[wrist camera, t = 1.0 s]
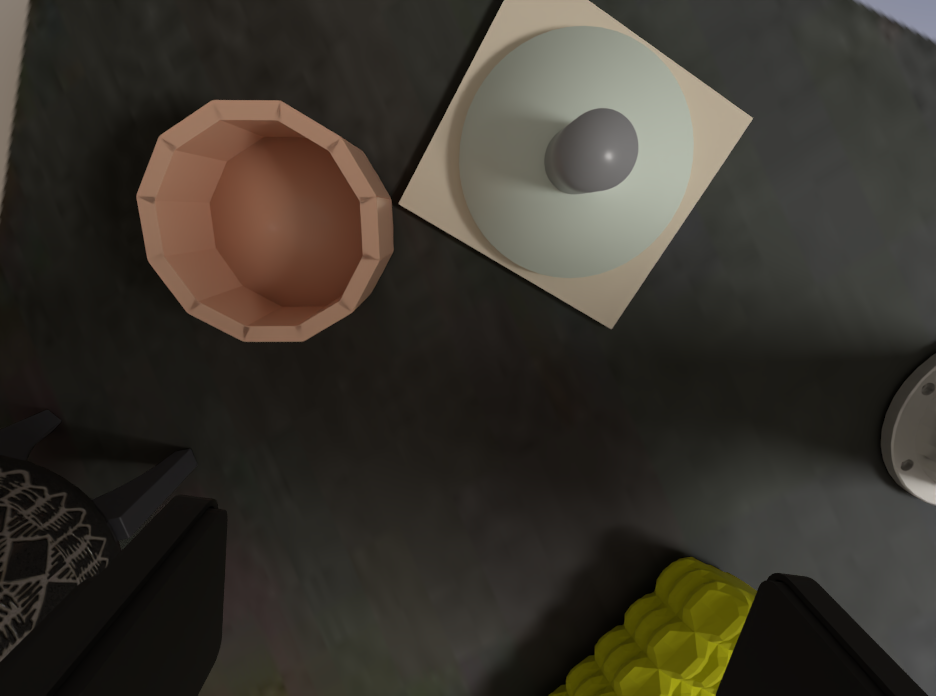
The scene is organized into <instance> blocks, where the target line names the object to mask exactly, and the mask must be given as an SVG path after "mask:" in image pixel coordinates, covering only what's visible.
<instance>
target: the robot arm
mask: <svg viewBox="0 0 936 696" xmlns="http://www.w3.org/2000/svg"><path fill="white" fill-rule="evenodd" d="M881 450H882V456H883V461H884V463H885V466H886V468H887V470H888V472H889V474H890V475H891V477H892V478H893V479H894V480H895V482H896V483H897V484H898V485H899V486H901V487H902V488H903V489H904V490H906V491H907V492H908V493H910V494H912V495H914V496H915V497H917V498H919V499H920V500H922V501H924V502H926V503H929V504H932V505H935V506H936V354H934V355H932V356H931V357H930V358H929V359H928V360H926V361H925V362H924V363H923V364H921V365H920V366H919V367H918V368H917V369H916V370H915V371H914V372H913V373H912V374H911V375H910V376H909V377H908V378H907V379H906V380H905V382H904V383H903V384H902V386H901V387H900V389H899V390H898V392H897V393H896V395H895V396H894V397H893V399H892V402H891V404H890V406H889V408H888V410H887V413H886V415H885V419H884V423H883V427H882V432H881ZM226 538H227V512H226V511H225V510H220V509H218V504H217V501H216V500H214V499H209V498H201V497H194V496H186V495H177V496H175V497H174V498H173V499H172V500H171V501H170V502H169V503H168V504H167V505H166V506H165V507H164V508H163V509H162V510H161V511H160V512H159V513H158V514H157V515H156V516H155V517H154V518H153V519H152V520H151V521H150V522H149V523H148V524H147V525H146V526H145V527H144V528H143V530H142V531H141V532H140V533H139V534H138V535H137V536H136V537H135V538H134V539H133V540H132V541H131V542H130V543H129V544H128V545H127V546H126V547H125V548H124V549H123V550H122V551H121V552H120V553H119V554H118V555H117V556H116V557H115V558H114V559H113V560H112V561H111V562H110V563H109V564H108V565H107V567H106V568H105V569H104V570H103V571H102V572H101V573H100V574H99V575H98V576H97V577H96V576H93V577H90V578H88V579H85V580H84V581H82V582H81V583H80V584H79V585H78V586H76V587H75V588H74V589H73V590H72V591H71V592H70V593H69V594H68V595H67V596H66V597H65V598H64V599H63V600H62V601H61V602H60V603H59V604H58V605H57V606H56V607H55V608H54V609H53V610H52V611H51V612H50V613H49V614H48V615H47V616H46V617H45V618H44V619H43V620H42V621H41V622H40V623H39V624H38V625H37V626H36V627H35V628H34V629H33V630H32V631H31V632H30V633H29V634H28V635H27V636H26V637H25V638H24V639H23V640H22V641H21V642H20V643H19V644H18V645H17V646H16V647H15V648H14V649H13V650H12V651H11V652H10V653H9V654H8V655H7V656H6V657H5V658H4V659H3V660H2V661H1V662H0V696H198V694H199V692H200V690H201V688H202V686H203V684H204V682H205V680H206V679H207V677H208V675H209V673H210V671H211V669H212V667H213V665H214V663H215V661H216V658H217V655H218V652H219V649H220V645H221V639H222V621H223V601H224V580H225V559H226ZM716 696H928V695H927V694H926V693H925V692H924V691H923V690H922V689H921V688H920V687H919V686H918V685H917V684H916V683H915V682H914V681H913V680H912V679H911V678H910V677H909V676H908V675H907V674H906V673H905V672H904V671H903V670H902V669H901V668H900V667H899V665H898V664H897V663H896V662H895V661H894V660H893V659H892V658H891V657H890V656H889V655H888V654H887V653H886V652H885V651H884V650H883V649H882V648H881V647H880V646H879V645H878V644H877V643H876V642H875V641H874V640H873V639H872V638H871V637H870V636H869V635H868V634H867V633H866V632H865V631H864V630H863V629H862V628H861V627H860V626H859V625H858V624H857V623H856V622H855V621H854V620H853V619H852V618H851V617H850V616H849V615H848V613H847V612H846V611H845V610H844V609H843V608H842V607H841V606H840V605H839V604H838V603H837V602H836V601H835V600H834V599H833V598H832V597H831V596H830V595H829V594H828V593H827V592H826V591H825V590H824V589H823V588H822V587H821V586H820V585H819V584H818V583H817V582H816V581H814V580H813V579H811V578H809V577H805V576H797V575H790V574H782V573H774V574H772V575H771V576H769V577H768V579H767V581H764V582H762V583H761V584H760V586H759V588H758V591H757V593H756V596H755V598H754V601H753V603H752V605H751V608H750V610H749V613H748V615H747V618H746V620H745V623H744V625H743V628H742V630H741V633H740V635H739V637H738V640H737V642H736V645H735V647H734V650H733V652H732V655H731V657H730V660H729V662H728V665H727V667H726V670H725V672H724V674H723V677H722V679H721V682H720V684H719V687H718V689H717V692H716Z"/></svg>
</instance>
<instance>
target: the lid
mask: <svg viewBox="0 0 936 696" xmlns="http://www.w3.org/2000/svg"><path fill="white" fill-rule="evenodd" d="M693 149H694V140H693V127H692V122H691V116H690V111H689V108H688V105H687V102H686V99H685V96H684V94H683V92H682V90H681V88H680V86H679V84H678V82H677V80H676V79H675V77H674V76H673V74H672V73H671V71H670V70H669V68H668V67H667V66H666V65H665V64H664V62H663V61H662V60H661V59H660V58H659V57H658V56H657V55H656V54H655V53H654V52H652V51H651V50H650V49H649V48H648V47H646V46H645V45H643V44H642V43H640V42H638V41H637V40H635V39H634V38H632V37H630V36H627V35H625V34H622V33H620V32H618V31H614V30H610V29H606V28H602V27H593V26H573V27H565V28H560V29H556V30H551V31H549V32H546V33H543V34H541V35H538V36H536V37H534V38H532V39H530V40H528V41H526V42H524V43H523V44H521V45H520V46H518V47H517V48H515V49H514V50H513V51H511V52H510V53H509V54H507V55H506V56H505V57H504V58H503V59H502V60H501V61H500V62H499V63H498V64H497V65H496V66H495V67H494V68H493V69H492V71H491V72H490V73H489V74H488V76H487V77H486V78H485V79H484V81H483V83H482V84H481V86H480V88H479V89H478V91H477V92H476V94H475V96H474V98H473V101H472V103H471V105H470V107H469V109H468V112H467V115H466V119H465V122H464V125H463V130H462V135H461V141H460V151H459V170H460V180H461V185H462V190H463V194H464V197H465V201H466V204H467V207H468V209H469V211H470V213H471V215H472V217H473V220H474V221H475V223H476V225H477V226H478V228H479V229H480V231H481V232H482V234H483V235H484V236H485V237H486V239H487V240H488V241H489V242H490V243H491V244H492V245H493V246H494V247H495V248H496V249H497V250H498V251H499V252H500V253H501V254H503V255H504V256H505V257H507V258H508V259H510V260H511V261H513V262H514V263H516V264H518V265H520V266H522V267H524V268H526V269H528V270H530V271H533V272H536V273H539V274H542V275H547V276H552V277H559V278H580V277H588V276H593V275H598V274H601V273H604V272H607V271H610V270H613V269H615V268H617V267H619V266H621V265H623V264H625V263H627V262H628V261H630V260H631V259H633V258H635V257H636V256H638V255H639V254H640V253H641V252H643V251H644V250H645V249H646V248H648V247H649V246H650V245H651V244H652V243H653V242H654V241H655V240H656V239H657V238H658V237H659V236H660V234H661V233H662V232H663V231H664V229H665V228H666V227H667V225H668V224H669V223H670V221H671V220H672V218H673V216H674V215H675V213H676V211H677V209H678V208H679V205H680V203H681V201H682V199H683V196H684V194H685V191H686V188H687V185H688V182H689V178H690V174H691V168H692V162H693Z"/></svg>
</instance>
